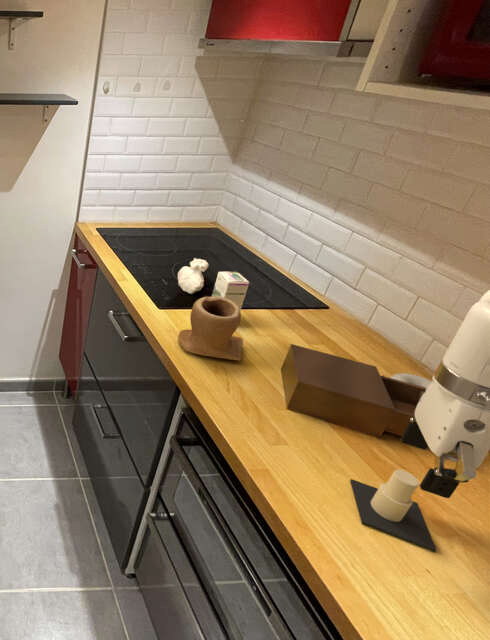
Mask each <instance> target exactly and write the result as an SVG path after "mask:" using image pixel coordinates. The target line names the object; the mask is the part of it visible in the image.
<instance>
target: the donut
mask: <svg viewBox="0 0 490 640" xmlns="http://www.w3.org/2000/svg"><path fill="white" fill-rule="evenodd" d="M390 378H392V379H396V380H399V381H403V382H407V383H410V384H414V385H418V386H421V387H425V388H426V389H427V388H428V386H429V385H430V384H431V382H432V381H433V380H430V379H428V378H426V377H423V376H420V375H417V374H413V373H407V372H399V373H394V374H392V376H390Z"/></svg>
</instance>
